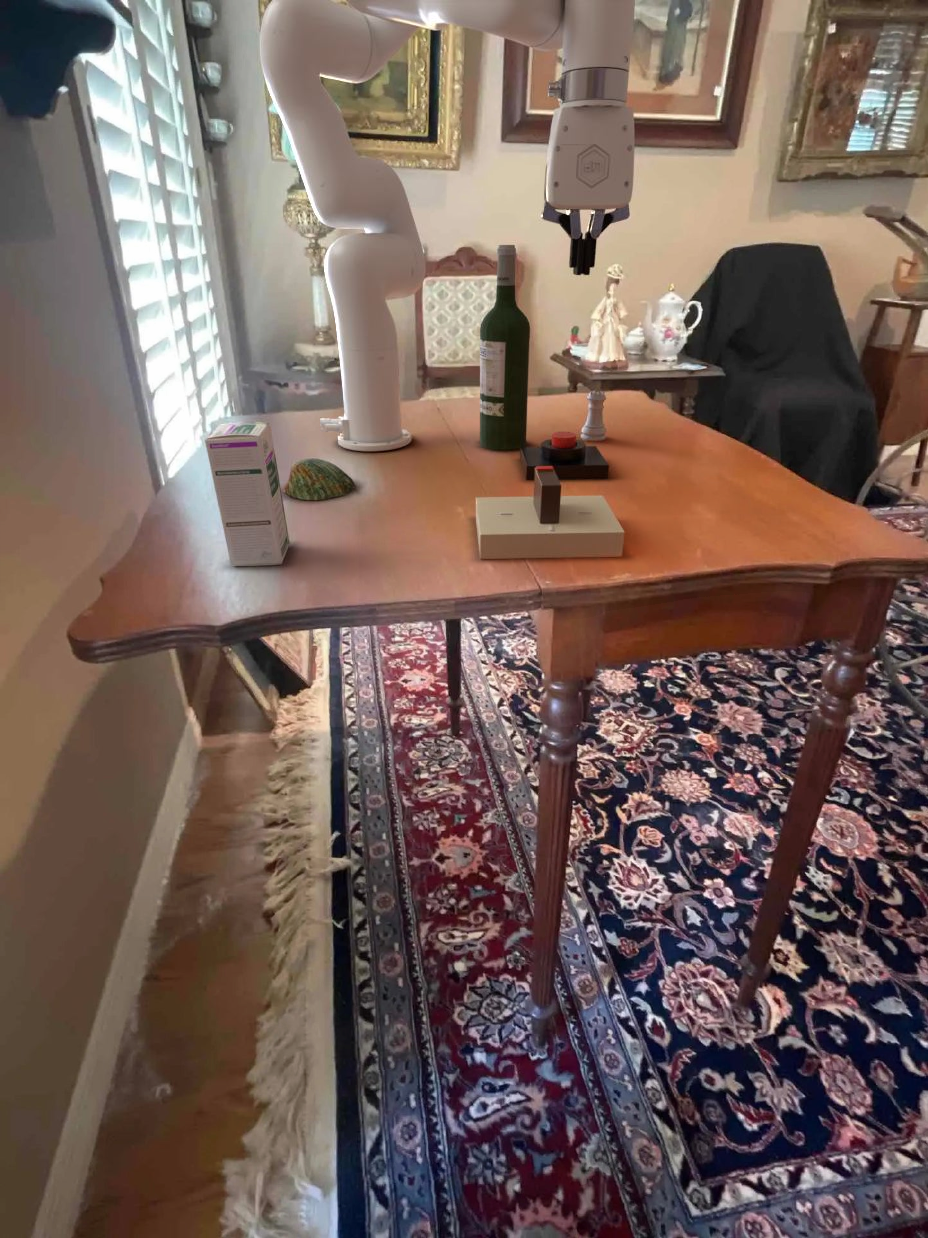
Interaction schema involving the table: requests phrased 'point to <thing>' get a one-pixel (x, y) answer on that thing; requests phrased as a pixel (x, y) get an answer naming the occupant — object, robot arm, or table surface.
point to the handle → (547, 494)
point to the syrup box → (248, 493)
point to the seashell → (317, 480)
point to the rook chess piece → (594, 418)
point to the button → (563, 439)
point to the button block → (565, 461)
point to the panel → (547, 529)
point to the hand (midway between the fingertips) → (581, 274)
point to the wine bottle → (504, 364)
